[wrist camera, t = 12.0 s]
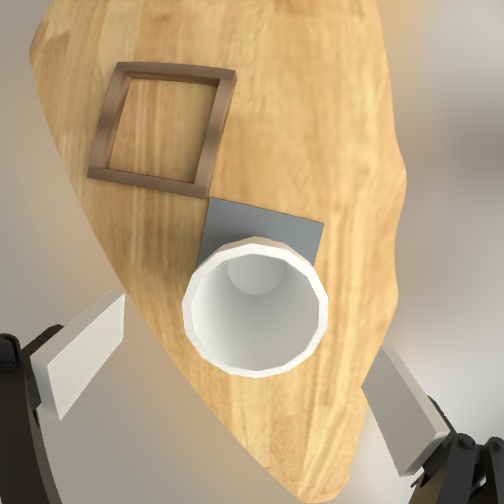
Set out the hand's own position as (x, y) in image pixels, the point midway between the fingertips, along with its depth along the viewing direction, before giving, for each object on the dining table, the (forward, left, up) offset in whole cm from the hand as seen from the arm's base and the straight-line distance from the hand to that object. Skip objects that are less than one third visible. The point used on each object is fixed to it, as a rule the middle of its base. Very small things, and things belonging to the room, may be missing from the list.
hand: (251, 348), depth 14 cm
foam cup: (0, 0, -18) cm, 18 cm away
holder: (-12, -13, -18) cm, 25 cm away
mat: (0, 0, -18) cm, 18 cm away
